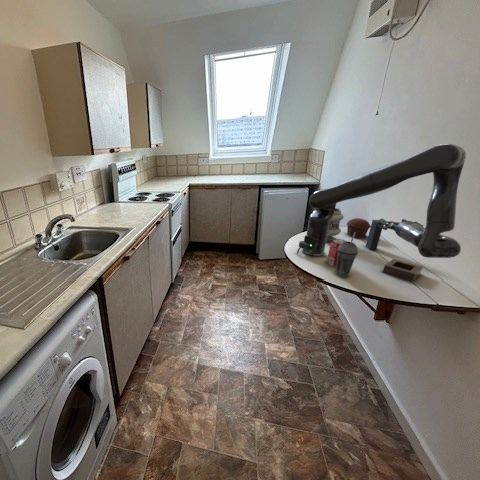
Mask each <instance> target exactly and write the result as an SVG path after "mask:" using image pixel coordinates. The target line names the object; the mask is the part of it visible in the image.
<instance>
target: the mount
mask: <svg viewBox="0 0 480 480" xmlns="http://www.w3.org/2000/svg"><path fill="white" fill-rule="evenodd" d="M422 270H423V266H422V265H418V264H413V263H410V262H407V261H403V260H399V259H397V258H396V259H395V258H392V259H391V260H389V261H388V262H387V263H386V264H384V266H383V269H382V273H384V274H386V275H390V276H393V277H397V278H401V279H404V280H407V281H410V282H413V281H414V280H416V279H417V277H419V276H420V275H421V272H422Z"/></svg>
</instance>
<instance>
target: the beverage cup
mask: <svg viewBox="0 0 480 480" xmlns="http://www.w3.org/2000/svg"><path fill="white" fill-rule="evenodd" d="M355 233H356V232H354V234H353V237H351V239H350V241H347V242H343V243H342V244H340V245H339V247H338V249H337V250H338V257H337V265H336V267H335V275H336V276H338V277H340V278H347V277H348V276H349V274H350V272H351V269H352V267H353V265H354V261H355V259H356V258H357V255H358V254H359V252H358V251H359V250H358V249H359V248H358V246H357V245H356V243H354V242H353V241H354V239H355V237H354V236H355Z"/></svg>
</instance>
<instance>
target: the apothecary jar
mask: <svg viewBox="0 0 480 480" xmlns="http://www.w3.org/2000/svg"><path fill="white" fill-rule="evenodd" d="M342 220H344V215H343V213H342V209H341V208H337V207H335V211H334V215H333V217H332V218H331V221H330V226H329V231H328V235H327V240H326V243H332V242H333V240H334V239H337V238H336V237H335V236H338V235H340V234H341V232H342V230H341V228H340V223H341V221H342Z"/></svg>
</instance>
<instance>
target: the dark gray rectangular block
mask: <svg viewBox="0 0 480 480" xmlns="http://www.w3.org/2000/svg"><path fill="white" fill-rule="evenodd" d="M379 220H380V219H372V221H371V223H370V226H371V227H370V228H369V232H368V235H367V239H366V244H365V247H366V248H367V249H368V250H369V251H377V249H378V246H379V242H380V238H381V235H382V231H383V229H382V228H380V227H379V226H378V224H379Z"/></svg>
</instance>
